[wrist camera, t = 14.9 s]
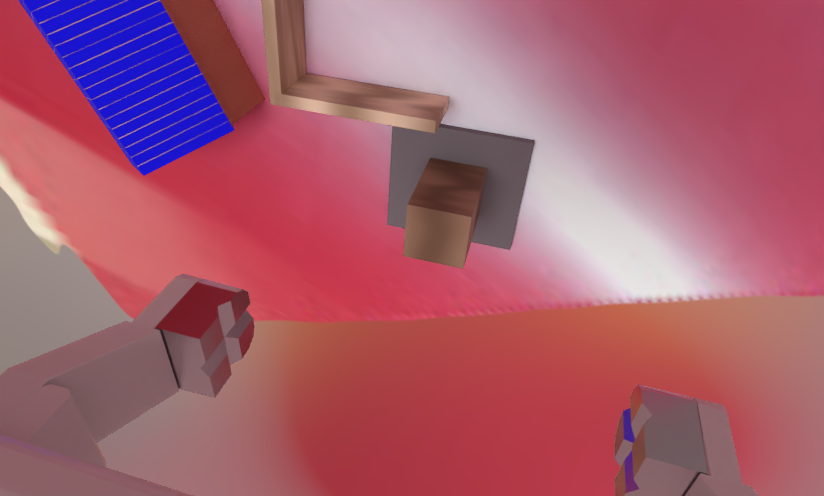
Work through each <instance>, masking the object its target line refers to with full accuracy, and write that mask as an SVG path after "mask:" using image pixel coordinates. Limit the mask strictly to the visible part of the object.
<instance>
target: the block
mask: <svg viewBox="0 0 824 496" xmlns="http://www.w3.org/2000/svg"><path fill="white" fill-rule="evenodd" d="M486 170H487V168H485V167H479V166H474V165H468V164H463V163H457V162H452V161H446V160H441V159H436V158H430V159H429V161H428V163H427V165H426V167H425V170H424V172H423V174H422V176H421V178H420V180H419V182H418V184H417V186H416V188H415V190H414V192H413V194H412V196H411V198H410V200H409V202H408V204H407V214H406V227H405V240H404V253H403V256H406V257H411V258H415V259H420V260H425V261H429V262H434V263H439V264H443V265H448V266H453V267H457V268H462V269H463V268H464V265H465V261H466V258H467V254H468V251H469V247H470V244H471V240H472V237H473V233H474V230H475V227H476V223H477V220H478V216H479V210H480V205H481V199H482V193H483V187H484V182H485V176H486Z"/></svg>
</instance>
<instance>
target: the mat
mask: <svg viewBox="0 0 824 496" xmlns="http://www.w3.org/2000/svg"><path fill="white" fill-rule="evenodd" d="M533 145H534V140H528V139H523V138H517V137H511V136H505V135H500V134H494V133H488V132H482V131H477V130H471V129H465V128H459V127H454V126H448V125H442V124H439V126H438V128H437V130H436V132H435V133H431V132H425V131H419V130H414V129H408V128H402V127H397V126H393V127H392V146H391V165H390V184H389V203H388V221H387V225H392V226H396V227H401V228H405V227H406V214H407V204H408V202H409V200H410V198H411V196H412V194H413V192H414V190H415V188H416V186H417V184H418V182H419V180H420V178H421V176H422V174H423V172H424V170H425V167H426V165H427V163H428V161H429V159H430V158H436V159H441V160H446V161H452V162H457V163H463V164H468V165H474V166H479V167H485V168H487V170H486V176H485V182H484V187H483V193H482V199H481V205H480V210H479V216H478V220H477V223H476V227H475V230H474V233H473V237H472V240H471V242H474V243H479V244H484V245H489V246H494V247H499V248H503V249H508V250H510V248H511V243H512V239H513V234H514V230H515V225H516V221H517V216H518V212H519V207H520V203H521V198H522V194H523V190H524V185H525V181H526V176H527V172H528V167H529V163H530V158H531V154H532V149H533Z"/></svg>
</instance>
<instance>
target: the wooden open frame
mask: <svg viewBox="0 0 824 496" xmlns="http://www.w3.org/2000/svg"><path fill="white" fill-rule="evenodd" d="M261 2H262V14H263V25H264V36H265V47H266V59H267V70H268V81H269V92H270V104H272V105H278V106H284V107H289V108H295V109H301V110H306V111H312V112H318V113H323V114H329V115H335V116H340V117H346V118H352V119H357V120H363V121H368V122H374V123H380V124H385V125H391V126H397V127H402V128H408V129H414V130H419V131H425V132H431V133H435V132H436V130H437V128H438V126H439V124H440V122H441V121H442V119H443V117H444V115H445V113H446V111H447V109H448V102H449V97H447V96H441V95H435V94H428V93H422V92H416V91H410V90H404V89H398V88H392V87H386V86H380V85H374V84H368V83H362V82H356V81H350V80H344V79H338V78H332V77H326V76H320V75H314V74H308V73H306V53H305V31H304V9H303V0H261Z"/></svg>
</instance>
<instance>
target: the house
mask: <svg viewBox="0 0 824 496" xmlns="http://www.w3.org/2000/svg"><path fill="white" fill-rule="evenodd" d="M19 2H20V3H21V5H22V6H23V7H24V9H25V10H26V12H27V13H28V15H29V16H30V18H31V19H32V20H33V22H34V23H35V25H36V26H37V28H38V29H39V31H40V32H41V33H42V35H43V36H44V38H45V39H46V41H47V42H48V44H49V45H50V47H51V48H52V49H53V51H54V52H55V54H56V55H57V57H58V58H59V60H60V61H61V62H62V64H63V65H64V67H65V68H66V70H67V71H68V73H69V74H70V75H71V77H72V78H73V80H74V81H75V83H76V84H77V86H78V87H79V88H80V90H81V91H82V93H83V94H84V96H85V97H86V99H87V100H88V101H89V103H90V104H91V106H92V107H93V109H94V110H95V112H96V113H97V114H98V116H99V117H100V119H101V120H102V122H103V123H104V125H105V126H106V127H107V129H108V130H109V132H110V133H111V135H112V136H113V138H114V139H115V140H116V142H117V143H118V145H119V146H120V148H121V149H122V151H123V152H124V153H125V155H126V156H127V158H128V159H129V161H130V162H131V164H132V165H133V166H134V167H135V168H136V169H137V170H138V171H139V172H140V173H141V174H143V175H146V174H148V173H150V172H152V171H154V170H156V169H158V168H160V167H162V166H164V165H166V164H168V163H170V162H172V161H174V160H176V159H178V158H180V157H182V156H184V155H186V154H188V153H190V152H192V151H194V150H196V149H198V148H200V147H202V146H204V145H206V144H208V143H210V142H212V141H214V140H216V139H218V138H220V137H222V136H224V135H225V134H227V133H229V132H231V131H233V130H234V129H233V127H232V125H233V124H234V123H235V122H236V121H238V120H239V119H240V118H241V117H243V116H244V115H245V114H246V113H248V112H249V111H250V110H251V109H253V108H254V107H255V106H256V105H258V104H259V103H260V102H261V101H263V100H264V99H265V98H264V96H263V94H262V92H261V90H260V88H259V86H258V84H257V83H256V81H255V79H254V77H253V75H252V73H251V71H250V69H249V67H248V65H247V64H246V62H245V60H244V58H243V56H242V54H241V52H240V50H239V48H238V47H237V45H236V43H235V41H234V39H233V37H232V35H231V33H230V31H229V29H228V28H227V26H226V24H225V22H224V20H223V18H222V16H221V14H220V12H219V11H218V9H217V7H216V5H215V3H214V1H213V0H19Z"/></svg>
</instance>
